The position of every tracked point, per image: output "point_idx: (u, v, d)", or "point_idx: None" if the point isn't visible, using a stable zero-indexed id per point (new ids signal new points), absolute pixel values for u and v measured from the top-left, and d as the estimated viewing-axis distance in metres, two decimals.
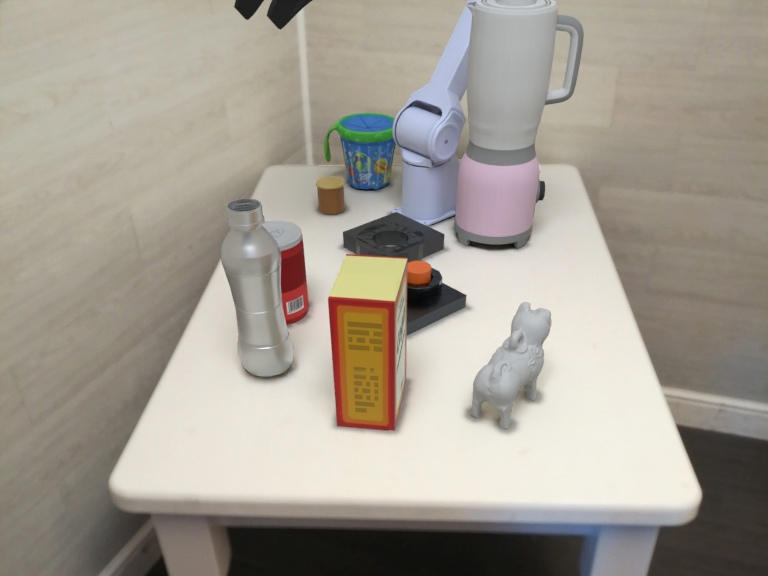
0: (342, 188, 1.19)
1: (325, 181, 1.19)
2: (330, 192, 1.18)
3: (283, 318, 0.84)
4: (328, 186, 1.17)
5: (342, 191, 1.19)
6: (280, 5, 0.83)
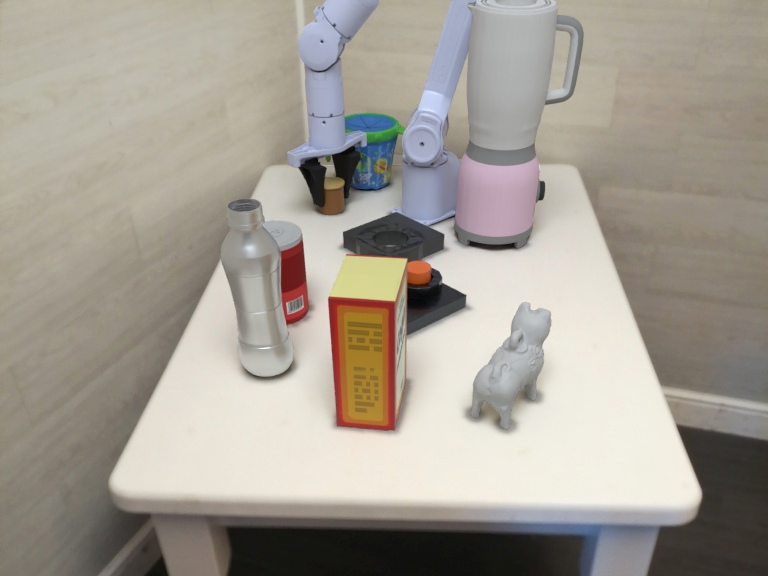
0: (342, 188, 1.19)
1: (325, 181, 1.19)
2: (330, 192, 1.18)
3: (283, 318, 0.84)
4: (328, 186, 1.17)
5: (342, 191, 1.19)
6: (313, 194, 1.19)
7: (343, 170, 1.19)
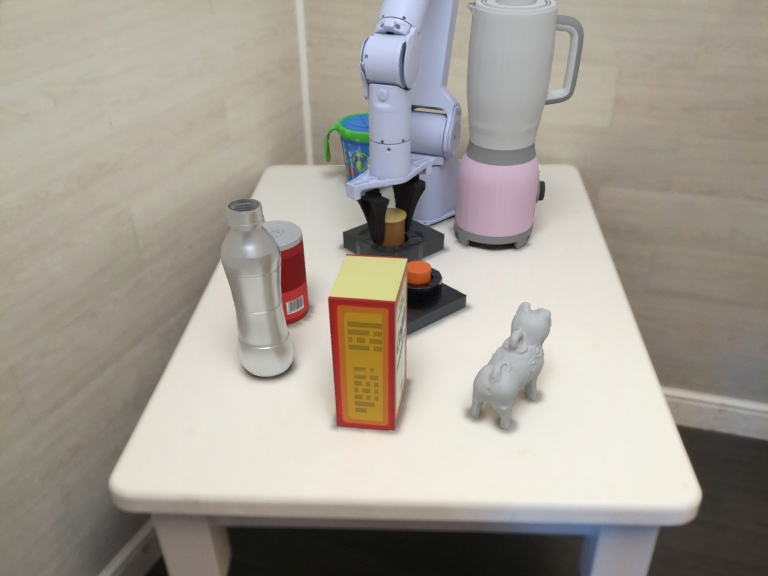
0: (403, 221, 1.06)
1: None
2: (391, 225, 1.05)
3: (283, 318, 0.84)
4: (388, 219, 1.05)
5: (403, 224, 1.06)
6: (371, 228, 1.06)
7: (405, 201, 1.06)
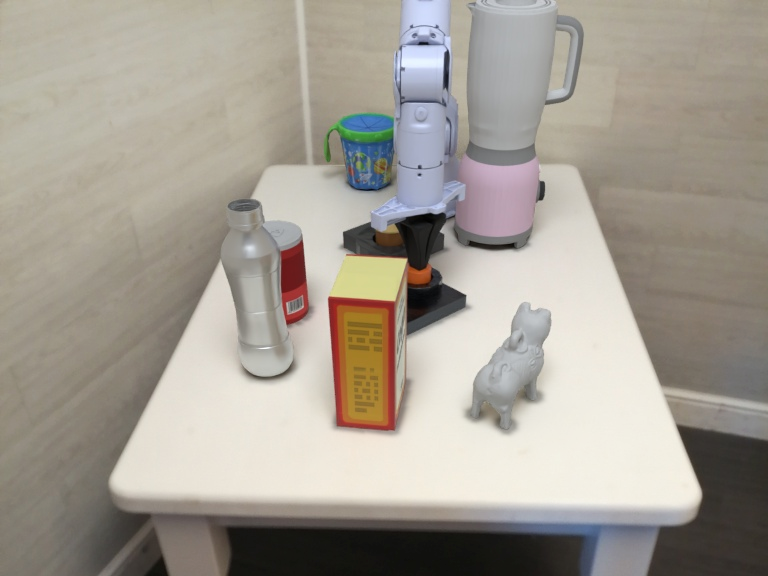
0: None
1: None
2: (391, 236, 1.06)
3: (283, 318, 0.84)
4: (389, 230, 1.06)
5: None
6: None
7: None
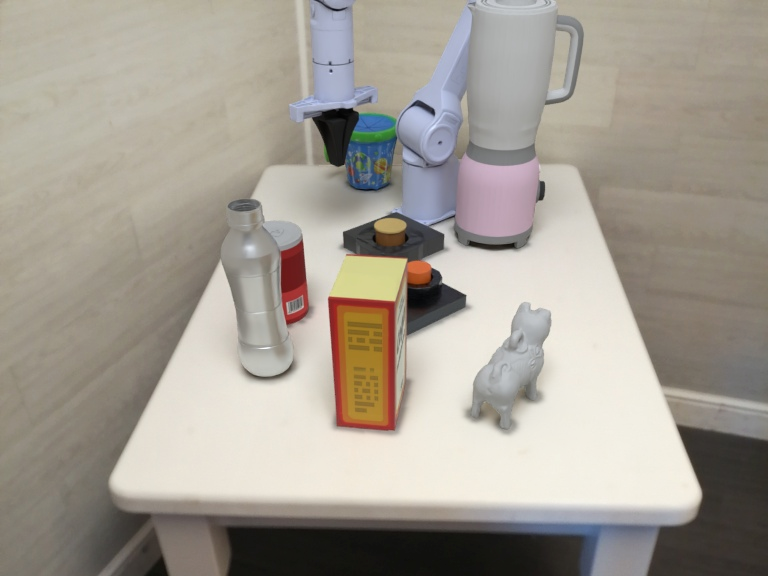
0: (403, 232, 1.07)
1: (385, 224, 1.07)
2: (391, 236, 1.06)
3: (283, 318, 0.84)
4: (389, 230, 1.06)
5: (403, 235, 1.07)
6: None
7: None
